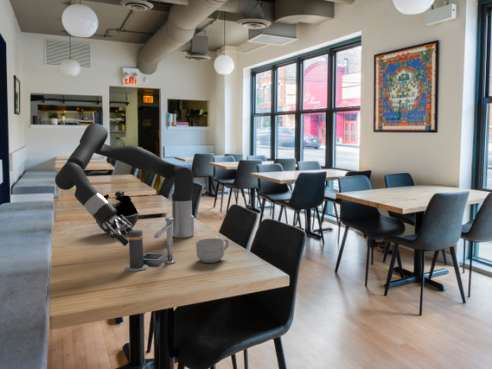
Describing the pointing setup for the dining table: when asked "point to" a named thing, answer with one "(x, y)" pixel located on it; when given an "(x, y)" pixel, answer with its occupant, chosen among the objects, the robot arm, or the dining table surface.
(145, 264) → the mat
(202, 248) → the teacup
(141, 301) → the dining table surface
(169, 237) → the post
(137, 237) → the plug
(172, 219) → the gray square bar
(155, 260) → the socket
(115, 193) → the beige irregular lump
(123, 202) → the bowl of black rocks
